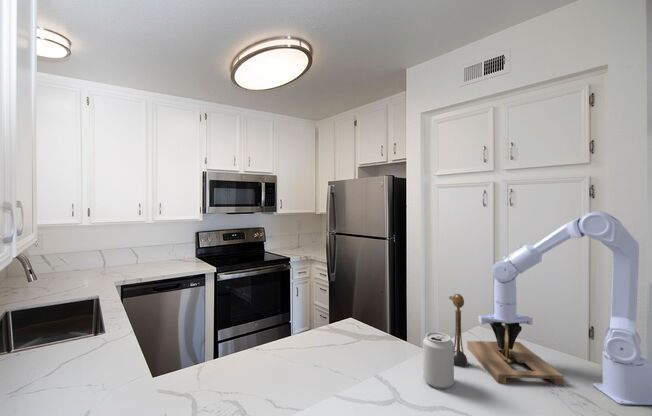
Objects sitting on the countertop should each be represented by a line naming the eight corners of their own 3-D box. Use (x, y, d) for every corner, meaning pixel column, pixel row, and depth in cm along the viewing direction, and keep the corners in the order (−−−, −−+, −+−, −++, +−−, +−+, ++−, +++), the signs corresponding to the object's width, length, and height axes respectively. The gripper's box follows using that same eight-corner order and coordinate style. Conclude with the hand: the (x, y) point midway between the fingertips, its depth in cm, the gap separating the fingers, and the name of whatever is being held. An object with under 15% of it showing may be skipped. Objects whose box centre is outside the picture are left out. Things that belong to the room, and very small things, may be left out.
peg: (508, 356, 95) (508, 323, 95) (516, 363, 91) (516, 328, 91) (494, 356, 95) (494, 323, 95) (502, 363, 91) (502, 328, 91)
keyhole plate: (519, 349, 100) (519, 341, 100) (563, 384, 80) (563, 375, 80) (467, 348, 101) (467, 341, 101) (498, 383, 81) (498, 374, 81)
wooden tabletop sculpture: (444, 358, 95) (444, 291, 95) (458, 356, 96) (457, 290, 96) (456, 368, 89) (456, 296, 89) (471, 366, 90) (470, 295, 90)
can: (417, 381, 82) (417, 335, 82) (432, 371, 87) (432, 327, 87) (445, 394, 77) (444, 344, 77) (459, 382, 82) (459, 336, 82)
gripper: (522, 297, 97) (523, 342, 97) (474, 297, 98) (474, 341, 98) (537, 305, 90) (537, 353, 90) (484, 304, 91) (484, 352, 91)
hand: (505, 347), depth 93 cm, fingers closed on peg, 2 cm apart
